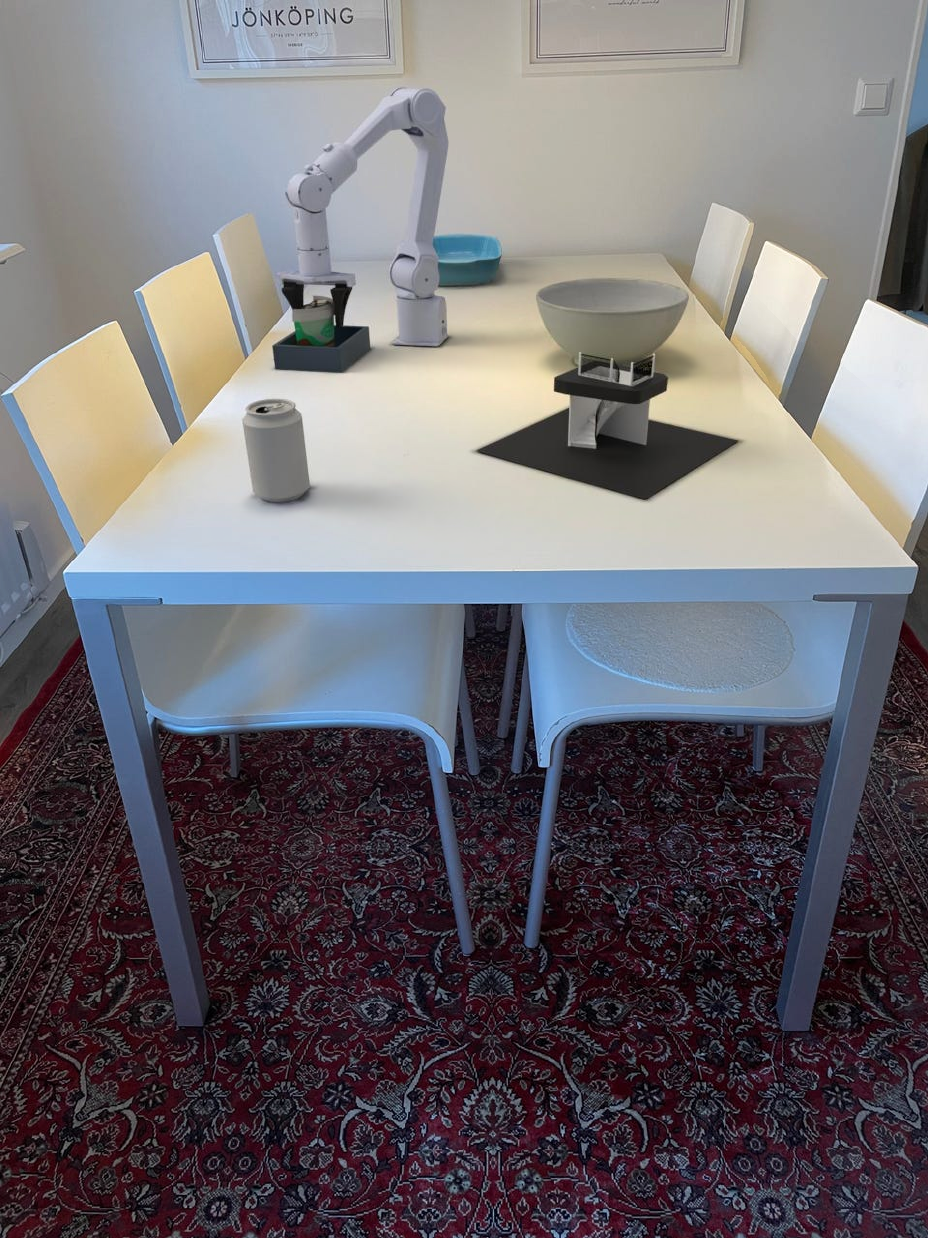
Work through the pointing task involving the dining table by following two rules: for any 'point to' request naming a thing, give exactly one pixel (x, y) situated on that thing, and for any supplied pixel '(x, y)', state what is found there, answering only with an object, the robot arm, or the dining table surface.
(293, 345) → the tote
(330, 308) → the food container
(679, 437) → the black-topped pedestal
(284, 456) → the can
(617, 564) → the dining table surface
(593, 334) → the decorative bowl
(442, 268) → the casserole dish
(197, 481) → the dining table surface
